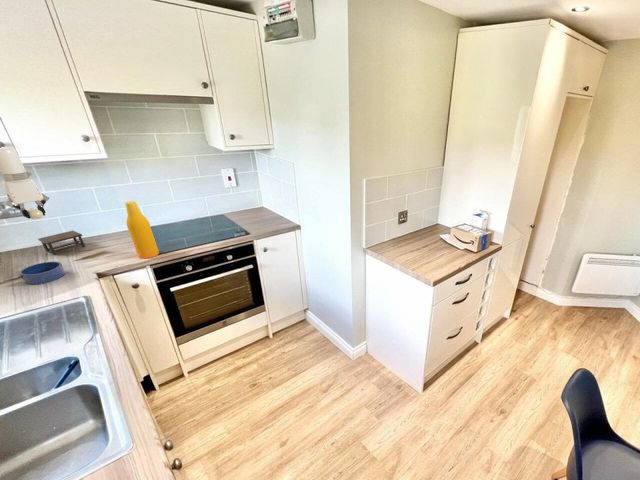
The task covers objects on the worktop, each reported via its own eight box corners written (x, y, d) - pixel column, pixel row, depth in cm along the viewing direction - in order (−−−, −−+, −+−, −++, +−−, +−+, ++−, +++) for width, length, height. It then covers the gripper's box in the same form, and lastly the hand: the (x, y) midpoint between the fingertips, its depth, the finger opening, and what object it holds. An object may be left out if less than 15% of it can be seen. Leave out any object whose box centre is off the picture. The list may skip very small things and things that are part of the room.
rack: (54, 259, 164) (46, 243, 160) (46, 254, 168) (37, 238, 164) (88, 249, 175) (81, 234, 171) (79, 245, 179) (72, 230, 175)
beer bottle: (134, 258, 168) (113, 204, 154) (146, 251, 176) (127, 199, 163) (152, 259, 168) (133, 205, 155) (163, 251, 177) (146, 200, 163)
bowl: (32, 287, 140) (26, 277, 138) (20, 279, 145) (14, 270, 143) (71, 275, 151) (66, 265, 148) (58, 268, 156) (53, 259, 154)
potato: (33, 220, 147) (29, 211, 145) (26, 217, 150) (22, 208, 148) (46, 218, 151) (42, 209, 149) (39, 215, 153) (35, 206, 151)
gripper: (37, 172, 150) (55, 210, 158) (-16, 179, 136) (6, 220, 145) (45, 174, 147) (63, 213, 155) (-9, 181, 133) (14, 223, 142)
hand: (35, 216), depth 150 cm, fingers closed on potato, 4 cm apart
